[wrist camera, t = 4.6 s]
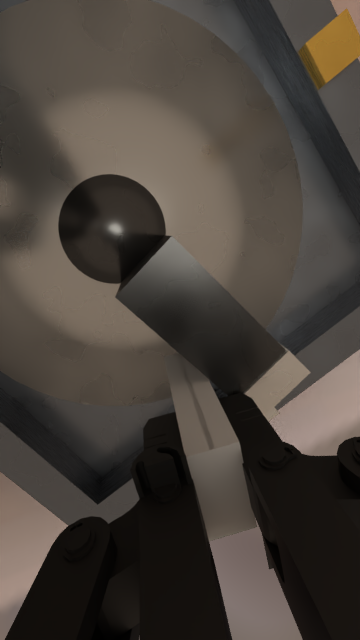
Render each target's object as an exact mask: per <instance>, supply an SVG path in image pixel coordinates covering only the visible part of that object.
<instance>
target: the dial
mask: <svg viewBox="0 0 360 640" xmlns="http://www.w3.org/2000/svg"><path fill="white" fill-rule="evenodd" d="M302 216H303V201H302V190H301V180H300V174H299V170H298V165H297V161H296V156H295V152H294V149H293V146H292V143H291V140H290V137H289V135H288V132H287V129H286V126H285V124H284V122H283V120H282V118H281V116H280V114H279V112H278V110H277V108H276V106H275V104H274V102H273V100H272V98H271V97H270V95H269V94H268V92H267V91H266V89H265V88H264V86H263V85H262V83H261V82H260V80H259V79H258V77H257V76H256V75H255V74H254V73H253V71H252V70H251V69H250V68H249V67H248V66H247V65H246V63H245V62H244V61H243V60H242V59H241V58H240V56H239V55H238V54H237V53H236V52H234V51H233V50H232V49H231V48H230V47H229V46H228V45H227V44H225V43H224V42H223V41H222V40H221V39H220V38H219V37H217V36H216V35H215V34H214V33H212V32H211V31H209V30H208V29H206V28H205V27H203V26H202V25H200V24H199V23H197V22H196V21H194V20H193V19H191V18H190V17H188V16H185V15H183V14H181V13H179V12H177V11H175V10H173V9H171V8H169V7H166V6H164V5H162V4H159V3H156V2H153V1H150V0H28V1H26V2H23V3H20V4H17V5H14V6H11V7H9V8H8V9H6V10H4V11H2V12H0V371H1V372H2V373H4V374H6V375H7V376H9V377H10V378H12V379H14V380H15V381H17V382H19V383H21V384H23V385H26V386H28V387H30V388H32V389H34V390H36V391H38V392H41V393H44V394H47V395H50V396H53V397H56V398H59V399H63V400H67V401H72V402H76V403H81V404H89V405H99V406H131V405H138V404H146V403H152V402H156V401H160V400H164V399H168V398H171V397H172V393H171V388H170V384H169V379H168V374H167V370H166V365H165V360H164V357H165V356H169V355H172V354H176V353H179V354H181V355H182V356H183V357H184V358H185V359H186V360H187V361H189V362H190V363H191V364H192V365H193V366H194V367H195V368H197V369H198V370H199V371H200V372H201V373H202V374H203V375H205V376H206V377H207V378H208V380H210V381H211V382H213V383H214V384H215V385H216V386H217V387H218V388H219V389H221V390H222V391H223V392H224V393H225V394H226V395H227V396H230V395H234V394H237V393H243V394H245V395H247V396H249V397H251V398H252V399H253V401H254V402H255V403H256V405H257V406H258V408H259V409H260V410H261V412H262V413H263V415H264V416H265V415H266V414H267V413H268V412H269V411H271V410H272V409H273V408H274V407H275V406H276V405H277V404H278V403H279V402H280V401H281V400H282V399H283V398H284V397H285V396H286V395H287V394H289V393H290V392H291V391H292V390H293V389H294V388H295V387H296V386H297V385H298V384H299V383H300V382H301V381H302V380H303V379H304V378H305V377H307V376H308V375H309V374H310V373H311V372H310V371H309V370H308V369H307V368H306V367H305V366H304V365H303V364H302V363H301V362H300V361H299V360H298V359H297V358H296V357H295V356H294V355H293V354H292V353H291V352H290V351H289V350H288V349H286V348H285V347H284V346H282V345H281V344H280V343H279V342H277V341H276V340H275V339H274V338H273V337H272V336H271V335H270V334H269V333H268V332H267V331H266V330H265V329H266V328H267V326H268V325H269V323H270V322H271V320H272V319H273V317H274V316H275V314H276V312H277V310H278V308H279V306H280V305H281V303H282V301H283V299H284V297H285V294H286V292H287V289H288V287H289V284H290V282H291V279H292V277H293V273H294V269H295V265H296V262H297V258H298V254H299V248H300V241H301V234H302Z"/></svg>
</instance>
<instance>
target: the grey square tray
mask: <svg viewBox="0 0 360 640" xmlns="http://www.w3.org/2000/svg"><path fill="white" fill-rule="evenodd" d="M26 1H28V0H0V12H2V11H4V10H6V9H8V8H9V7H11V6H14V5H17V4H20V3H23V2H26ZM150 1H153V2H156V3H159V4H162V5H164V6H166V7H169V8H171V9H173V10H175V11H177V12H179V13H181V14H183V15H185V16H188V17H190V18H191V19H193V20H194V21H196V22H197V23H199V24H200V25H202V26H203V27H205V28H206V29H208V30H209V31H211V32H212V33H214V34H215V35H216V36H217V37H219V38H220V39H221V40H222V41H223V42H224V43H225V44H227V45H228V46H229V47H230V48H231V49H232V50H233V51H234V52H236V53H237V54H238V55H239V56H240V58H241V59H242V60H243V61H244V62H245V63H246V65H247V66H248V67H249V68H250V69H251V70H252V71H253V73H254V74H255V75H256V76H257V77H258V79H259V80H260V82H261V83H262V85H263V86H264V88H265V89H266V91H267V92H268V94H269V95H270V97H271V98H272V100H273V102H274V104H275V106H276V108H277V110H278V112H279V114H280V116H281V118H282V120H283V122H284V124H285V126H286V129H287V132H288V135H289V137H290V140H291V143H292V146H293V149H294V152H295V156H296V161H297V165H298V170H299V174H300V180H301V190H302V201H303V216H302V234H301V241H300V248H299V254H298V258H297V262H296V265H295V269H294V273H293V277H292V279H291V282H290V284H289V287H288V289H287V292H286V294H285V297H284V299H283V301H282V303H281V305H280V306H279V308H278V310H277V312H276V314H275V316H274V317H273V319H272V320H271V322H270V323H269V325H268V326H267V328H266V329H265V330H266V331H267V332H268V333H269V334H270V335H271V336H272V337H273V338H274V339H275V340H276V341H277V342H279V343H280V344H281V345H282V346H284V347H285V348H286V349H288V350H289V351H290V352H291V353H292V354H293V355H294V356H295V357H296V358H297V359H298V360H299V361H300V362H301V363H302V364H303V365H304V366H305V367H306V368H307V369H308V370H309V371H310V372H311V373H310V374H309V375H308V376H307V377H305V378H304V379H303V380H302V381H301V382H300V383H299V384H298V385H297V386H296V387H295V388H294V389H293V390H292V391H291V392H290V393H289V394H287V395H286V396H285V397H284V398H283V399H282V400H281V401H280V402H279V403H278V404H277V405H276V406H275V407H274V408H273V409H272V410H271V411H269V412H268V413H267V414H266V415H265V418H266V419H267V420H268V421H270V420H271V419H272V418H274V417H275V416H276V415H278V414H279V412H278V411H277V410H279V409H280V408H281V407H283V406H284V405H285V404H287V403H288V402H289V401H291V400H292V399H293V398H295V397H296V396H297V395H299V394H300V393H301V392H303V391H304V390H305V389H307V388H308V387H309V386H311V385H312V384H313V383H315V382H316V381H317V380H319V379H320V378H321V377H323V376H324V375H325V374H327V373H328V372H330V371H331V370H332V369H334V368H335V367H336V366H338V365H339V364H340V363H342V362H343V361H344V360H346V359H347V358H348V357H350V356H351V355H352V354H354V353H355V352H356V351H358V350H359V349H360V62H359V60H358V57H359V56H360V35H359V33H358V31H357V29H356V27H355V25H354V22H353V20H352V18H351V16H350V14H349V12H348V10H347V9H345V10H344V11H343V12H342V13H341V14H340V15H338V16H337V14H336V12H335V10H334V7H333V5H332V3H331V1H330V0H150ZM209 382H210V384H211V386H212V388H213V390H214V392H215V394H216V396H217V398H218V399H219V398H223V397H226V396H227V395H226V394H225V393H224V392H223V391H222V390H221V389H219V388H218V387H217V386H216V385H215V384H214V383H213V382H211V381H210V380H209ZM172 412H175V407H174V402H173V398H172V397H171V398H168V399H164V400H160V401H156V402H152V403H146V404H138V405H131V406H99V405H89V404H81V403H76V402H72V401H67V400H63V399H59V398H56V397H53V396H50V395H47V394H44V393H41V392H38V391H36V390H34V389H32V388H30V387H28V386H26V385H23V384H21V383H19V382H17V381H15V380H14V379H12V378H10V377H9V376H7V375H6V374H4V373H2V372H1V371H0V472H2V473H3V474H4V475H5V476H7V477H8V478H9V479H10V480H12V481H13V482H14V483H15V484H17V485H18V486H19V487H20V488H22V489H23V490H24V491H26V492H27V493H28V494H29V495H31V496H32V497H33V498H34V499H36V500H37V501H38V502H39V503H41V504H42V505H43V506H44V507H46V508H47V509H48V510H49V511H51V512H52V513H53V514H55V515H56V516H57V517H58V518H60V519H61V520H62V521H63V522H65V523H66V524H67V525H68V526H69V525H71V524H72V523H74V522H76V521H78V520H79V519H82V518H86V517H90V516H95V517H101V518H102V519H104V520H105V521H106V522H108V524H109V523H110V522H112V521H114V520H115V519H117V518H119V517H120V516H122V515H124V514H125V513H126V512H128V511H129V510H130V509H131V508H132V507H133V506H134V505H135V504H136V503H137V502H138V500H139V496H138V493H137V490H136V487H135V484H134V481H133V478H132V475H131V472H130V469H131V466H132V463H133V461H134V460H135V459H136V457H137V456H138V455H139V454H140V453H142V452H143V451H144V444H143V442H144V440H143V429H144V427H145V425H146V423H147V421H148V419H151V418H154V417H158V416H162V415H165V414H169V413H172Z"/></svg>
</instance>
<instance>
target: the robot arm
mask: <svg viewBox="0 0 360 640" xmlns="http://www.w3.org/2000/svg"><path fill="white" fill-rule="evenodd" d="M164 360H165V365H166V370H167V374H168V379H169V384H170V388H171V393H172V398H173V402H174V407H175V412H172V413H169V414H165V415H162V416H158V417H154V418H151V419H148V421H147V423H146V425H145V427H144V429H143V440H144V442H143V444H144V451H143V452H142V453H140V454H139V455H138V456H137V457H136V459H135V460H134V461H133V463H132V466H131V469H130V472H131V475H132V478H133V481H134V484H135V487H136V490H137V493H138V496H139V500H138V502H137V503H136V504H135V505H134V506H133V507H132V508H131V509H130V510H129V511H128V512H126V513H125V514H124V515H122V516H120V517H119V518H117V519H115V520H114V521H112V522H110V523H109V524H108V522H106V521H105V520H104V519H102V518H101V517H95V516H90V517H86V518H82V519H79V520H78V521H76V522H74V523H72V524H71V525H69V526H68V527H67V528H66V529H65V530H64V531H63V532H62V533H60V534H59V536H58V537H57V539H56V540H55V542H54V543H53V545H52V546H51V548H50V550H49V552H48V554H47V556H46V558H45V560H44V562H43V564H42V566H41V568H40V570H39V572H38V574H37V576H36V578H35V580H34V582H33V584H32V586H31V588H30V590H29V592H28V594H27V596H26V598H25V600H24V602H23V604H22V606H21V608H20V610H19V612H18V614H17V616H16V618H15V620H14V622H13V624H12V626H11V628H10V630H9V632H8V635H7V636H6V638H5V640H139V635H140V640H232V637H231V632H230V628H229V624H228V619H227V615H226V611H225V606H224V602H223V598H222V593H221V589H220V584H219V580H218V576H217V572H216V567H215V563H214V559H213V556H212V552H211V548H210V544H209V541H212V540H215V539H219V538H222V537H225V536H228V535H232V534H236V533H239V532H242V531H245V530H249V529H252V528H255V527H257V525H256V520H257V522H258V525H259V527H260V530H261V532H262V536H263V541H264V546H265V550H266V556H267V560H268V565H269V569H272V568H274V571H275V573H276V575H277V578H278V580H279V583H280V585H281V588H282V590H283V592H284V595H285V597H286V600H287V602H288V605H289V607H290V609H291V612H292V614H293V617H294V619H295V621H296V624H297V626H298V629H299V631H300V634H301V636H302V639H303V640H360V437H353V438H351V439H348V440H345V441H344V442H343V443H342V444H340V445H339V448H338V451H337V456H308V455H304V454H301V452H300V451H299V450H297V449H296V448H295V447H294V446H293V445H290V444H288V443H285V442H282V440H281V439H280V437H279V436H278V435H277V433H276V432H275V430H274V429H273V427H272V426H271V425H270V423H269V422H268V420H267V419H266V418H265V416H264V415H263V413H262V412H261V410H260V409H259V408H258V406H257V405H256V403H255V402H254V401H253V399H252V398H251V397H249V396H247V395H245V394H243V393H237V394H234V395H230V396H226V397H223V398H219V399H218V398H217V396H216V394H215V392H214V390H213V388H212V386H211V384H210V382H209V380H208V378H207V377H206V376H205V375H203V374H202V373H201V372H200V371H199V370H198V369H197V368H195V367H194V366H193V365H192V364H191V363H190V362H189V361H187V360H186V359H185V358H184V357H183V356H182V355H181V354H179V353H176V354H172V355H169V356H165V357H164ZM255 518H256V520H255Z"/></svg>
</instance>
